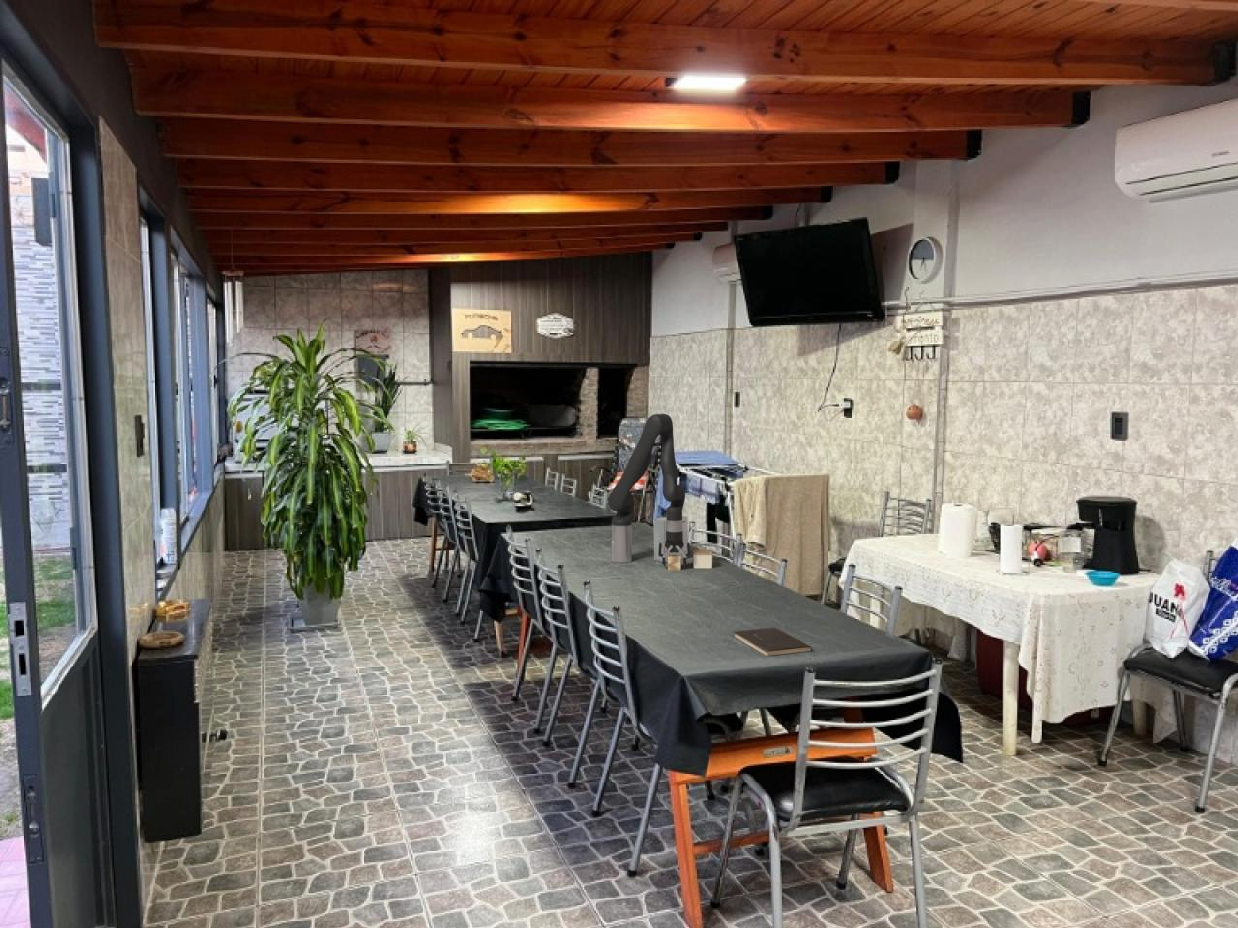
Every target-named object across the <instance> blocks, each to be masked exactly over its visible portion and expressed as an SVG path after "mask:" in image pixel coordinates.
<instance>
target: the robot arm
mask: <svg viewBox="0 0 1238 928" xmlns="http://www.w3.org/2000/svg"><path fill="white" fill-rule="evenodd" d="M640 435H641V436H640V438H639V440H638V442H637V444H636V446H635V448H634V450H633V452H632V454H631V456H630V457H629V459H628V462H627V463H626V466H625V469H624V470H623V473H621V475H620V478H619V480H618V482H617V483H616V485H615V486H614V487H613V489H612V491H611V492H610V494H609V497H608V499H607V501H608V506H609V508H610V510H612V511H614V512H616V514H615V516H613V517H612V519H611V563H617V564H618V563H619V564H621V563H623V564H624V563H630V562H632V557H633V555H632V553H633V552H632V541H633V540H632V539H633V538H632V533H633V531H632V526H633V525H632V524H633V523H632V522H633V519H634V507H635V500H634V494H633V493H632V492H631V490H632V488H633V487H634V486H635V485H636V484H637V483H638V482H639V481H640V480H641V479H642V477H644V476H645V474H646V472H647V471H648V470H649V467H650V465H651V463H652V459H653V458H652V457H653V447H654V444H655V442H656V440H657V438H659V436H660V441H661V454H660V461H659V463H660V468H661V469H660V470H661V475H662V495H663V498H664V500H665V501H666V502H669V503H670V505H669V506H668V507H666V511H665V513H666V514H665V515H666V516H665V517H666V542H665V543H661V542H660V543H659V552H658V556H661V557H662V562H661V563H662V565H663V566H664V567H666V564H667V562H666V558H665V556H666V555H667V554H668V553H669V552H671V553H673V552H676V553H678V552H680V553H681V554H682V555H683V559H682V567H685V566H686V565H687V559H688V558H687V557H691V545H690V544H691V543H690V542H687V543H683V523H682V516H683V508H684V505H685V500H686V490H685V488H684V487H683V485H680V484H676V480H677V479H678V478H679V471H678V465H677V460H676V455H675V442H674V440H675V439H674V423H673V419H672V417H671V415H669V414H667V413H656V414H652V415H650V416H649V417H648V419H647V420H646V423H645V425H644V428H643V430H642V432H641V434H640ZM663 546H665V547H666V548H667V549H666V551H665V552H664V554H662V553H661V548H663ZM683 546H685V547H686V548H687V554H685V553H684V552H683V550H682V547H683Z"/></svg>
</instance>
